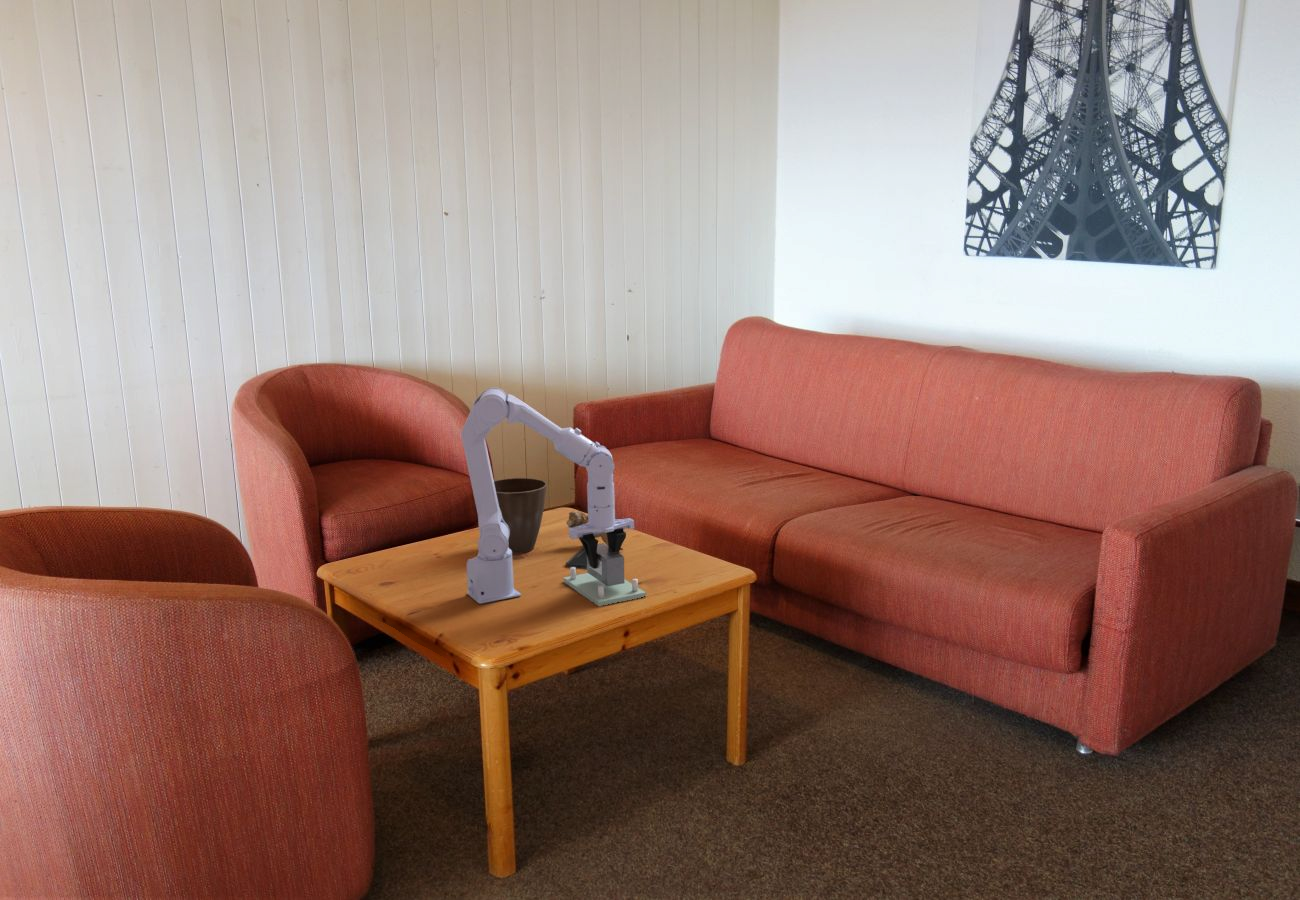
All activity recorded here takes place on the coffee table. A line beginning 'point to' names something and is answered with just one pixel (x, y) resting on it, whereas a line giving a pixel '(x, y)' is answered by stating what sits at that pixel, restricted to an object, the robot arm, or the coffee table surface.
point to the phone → (578, 560)
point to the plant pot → (521, 510)
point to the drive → (608, 566)
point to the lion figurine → (580, 519)
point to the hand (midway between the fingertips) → (603, 565)
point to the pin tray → (603, 589)
